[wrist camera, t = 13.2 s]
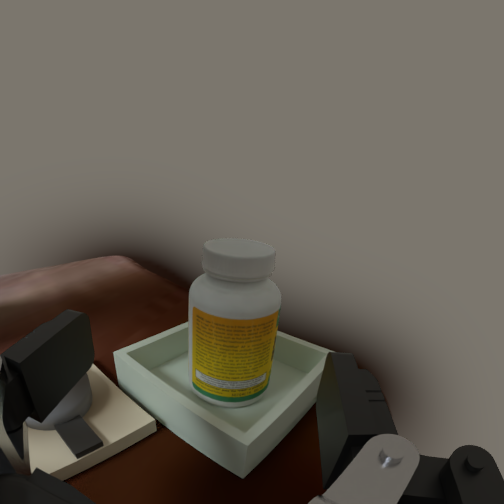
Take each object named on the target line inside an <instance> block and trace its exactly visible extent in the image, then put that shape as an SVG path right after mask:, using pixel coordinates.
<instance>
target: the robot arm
mask: <svg viewBox="0 0 504 504" xmlns="http://www.w3.org/2000/svg"><path fill="white" fill-rule="evenodd" d="M93 361H94V347H93V341H92V334H91V328H90V321H89V317H88V315H87V314H85V313H81V312H77V311H73V310H69V309H67V310H65V311H63V312H62V313H61V314H59V315H58V316H56V317H55V318H54V319H52V320H51V321H48V322H46V323H43V324H41V325H40V326H38V327H37V328H36V329H34V330H33V332H30V333H29V334H27V335H26V337H25V338H24V337H23V338H22V339H21V340H19V341H18V342H17V343H15V344H14V345H13V346H11V347H10V348H9V349H7V350H6V351H5V352H3V353H2V354H1V355H0V504H96V503H94V502H93V501H91V500H90V499H89V498H87V497H86V496H84V495H83V494H82V493H80V492H79V491H78V490H76V489H75V488H74V487H73V486H71V485H70V484H68V483H66V482H64V481H62V480H60V479H58V478H56V477H54V476H52V475H50V474H48V473H46V472H44V471H42V470H41V469H39V468H37V467H36V469H35V470H34V471H33V473H32V472H31V468H30V458H29V441H28V426H27V423H26V421H25V420H26V419H27V418H28V417H30V418H32V419H34V420H36V421H38V422H40V423H42V422H43V421H44V420H45V419H46V418H47V416H48V415H49V414H50V413H51V412H52V411H53V410H54V408H55V407H56V406H57V405H58V404H59V403H60V402H61V400H62V399H63V398H64V397H65V396H66V395H67V394H68V393H69V391H70V390H71V389H72V388H73V387H74V386H75V385H76V384H77V382H78V381H79V380H80V379H81V378H82V377H83V376H84V375H85V374H86V372H87V371H88V370H89V369H90V368H91V366H92V364H93ZM316 413H317V422H318V433H319V443H320V454H321V466H322V479H323V489H328V490H327V491H326V492H325V493H324V494H323V495H322V496H320V495H318V496H316V497H315V498H313V499H312V500H311V501H310V502H309V503H308V504H504V480H503V478H502V475H501V473H500V471H499V469H498V467H497V465H496V463H495V461H494V459H493V457H492V456H491V454H489V453H488V452H487V451H486V450H484V449H483V448H481V447H478V446H473V445H465V446H462V447H459V448H458V449H456V450H455V451H454V452H453V454H452V455H451V456H450V458H449V459H446V458H437V457H429V456H424V455H420V454H419V452H418V450H417V448H416V446H415V445H414V444H413V443H412V442H411V441H409V440H408V439H406V438H404V437H402V436H399V435H398V433H397V430H396V428H395V425H394V422H393V420H392V417H391V414H390V411H389V409H388V406H387V404H386V402H385V398H384V396H383V393H381V388H380V386H379V383H378V380H377V379H376V378H375V377H374V376H373V375H372V374H371V373H370V372H369V371H368V370H367V369H358V367H357V364H356V361H355V358H354V355H353V354H352V353H341V352H328V354H327V357H326V360H325V365H324V369H323V373H322V377H321V380H320V384H319V388H318V392H317V399H316Z"/></svg>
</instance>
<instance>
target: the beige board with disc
mask: <svg viewBox="0 0 504 504" xmlns="http://www.w3.org/2000/svg"><path fill="white" fill-rule="evenodd" d="M25 421H26V423H27V426H28V441H29V458H30V468H31V472H32V473H33V471H34V470H35V469H36V467H37V468H39V469H41V470H42V471H44V472H46V473H48V474H50V475H52V476H54V477H56V478H58V479H60V480H62V481H63V480H65V479H68V478H70V477H72V476H74V475H76V474H78V473H80V472H82V471H84V470H86V469H88V468H90V467H92V466H94V465H96V464H98V463H100V462H102V461H103V460H105V459H107V458H109V457H111V456H113V455H115V454H117V453H118V452H120V451H122V450H124V449H126V448H127V447H129V446H131V445H133V444H134V443H136V442H138V441H140V440H141V439H143V438H145V437H147V436H148V435H150V434H152V433H153V432H155V431H157V429H156V422H155V419H154V418H153V417H151V416H150V415H149V414H148V413H147V412H145V411H144V410H143V409H142V408H141V407H139V406H138V405H137V404H136V403H135V402H134V401H132V400H131V399H130V398H129V397H128V396H127V395H126V394H125V393H123V392H122V391H121V390H120V389H119V388H118V387H117V386H116V385H115V384H114V383H113V382H111V381H110V380H109V379H108V378H107V377H106V376H105V375H104V374H103V373H102V372H101V371H100V370H99V369H98V368H97V367H96V366H95V365H94V364H92V366H91V368H90V369H89V370H88V371H87V372H86V374H85V375H84V376H83V377H82V378H81V379H80V380H79V381H78V382H77V384H76V385H75V386H74V387H73V388H72V389H71V390H70V391H69V393H68V394H67V395H66V396H65V397H64V398H63V399H62V400H61V402H60V403H59V404H58V405H57V406H56V407H55V408H54V410H53V411H52V412H51V413H50V414H49V415H48V416H47V418H46V419H45V420H44V421H43V422H42V423H40V422H38V421H36V420H34V419H32V418H30V417H28V418H27V419H26V420H25Z"/></svg>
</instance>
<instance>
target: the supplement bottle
mask: <svg viewBox="0 0 504 504" xmlns="http://www.w3.org/2000/svg"><path fill="white" fill-rule="evenodd" d="M275 255H276V251H275V248H274V247H272V246H271V245H269V244H266V243H263V242H259V241H255V240H248V239H237V238H222V239H214V240H210V241H207V242H205V244H204V245H203V255H202V266H203V270H204V272H205V273H204V274H202V275H201V276H199V277H198V278H196V279H195V280H194V282H193V284H192V285H191V287H190V290H189V313H188V377H189V383H190V386H191V388H192V390H193V391H194V393H195V394H196V395H197V396H198V397H200V398H201V399H203V400H205V401H207V402H209V403H211V404H213V405H216V406H220V407H225V408H238V407H243V406H247V405H250V404H252V403H255V402H256V401H258V400H259V399H261V398H262V397H263V395H264V394H265V393H266V391H267V389H268V386H269V381H270V375H271V368H272V362H273V355H274V350H275V342H276V335H277V329H278V321H279V316H280V308H281V293H280V290H279V288H278V287H277V285H276V284H275V283H274V282H273V281H272V280H270V279H269V277H270V276H271V274H272V272H273V271H274V268H275V267H274V266H275Z"/></svg>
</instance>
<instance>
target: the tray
mask: <svg viewBox="0 0 504 504" xmlns="http://www.w3.org/2000/svg"><path fill="white" fill-rule="evenodd" d="M328 352H334V351H331V350H328V349H325V348H323V347H320V346H317V345H314V344H312V343H309V342H306V341H304V340H301V339H298V338H296V337H293V336H290V335H287V334H285V333H282V332H280V331H277V335H276V342H275V350H274V355H273V362H272V368H271V375H270V381H269V386H268V389H267V391H266V393H265V394H264V395H263V397H262V398H261V399H259V400H258V401H256V402H255V403H252V404H250V405H247V406H243V407H238V408H225V407H220V406H216V405H213V404H211V403H209V402H207V401H205V400H203V399H201V398H200V397H198V396H197V395H196V394H195V393H194V391H193V390H192V388H191V386H190V383H189V377H188V322H186V323H184V324H181V325H179V326H177V327H174V328H172V329H169V330H167V331H165V332H162V333H160V334H157V335H155V336H152V337H150V338H147V339H145V340H143V341H140V342H138V343H135V344H133V345H130V346H128V347H125V348H123V349H120V350H118V351H115V352H113V353H114V360H115V366H116V372H117V378H118V384H119V388H120V389H122V390H123V391H124V392H125V393H126V394H127V395H128V396H129V397H131V398H132V399H133V400H134V401H135V402H136V403H137V404H139V405H140V406H141V407H142V408H143V409H145V410H146V411H147V412H148V413H149V414H151V415H152V416H153V417H154V418H156V419H157V420H158V421H159V422H161V423H162V424H163V425H164V426H166V427H167V428H168V429H170V430H171V431H172V432H174V433H175V434H176V435H178V436H179V437H180V438H182V439H183V440H184V441H186V442H187V443H189V444H190V445H191V446H193V447H194V448H196V449H197V450H198V451H200V452H201V453H203V454H204V455H206V456H207V457H209V458H210V459H212V460H213V461H215V462H216V463H218V464H219V465H221V466H223V467H224V468H226V469H227V470H229V471H231V472H232V473H234V474H236V475H237V476H239V477H241V478H242V479H243V478H244V477H245V476H246V475H248V474H249V473H250V472H251V471H252V470H253V469H254V468H255V467H256V466H257V465H258V464H259V463H260V462H261V461H262V460H263V459H264V458H265V457H266V456H267V455H268V454H269V453H270V452H271V451H272V450H273V449H274V448H275V447H276V446H277V445H278V444H279V442H280V441H281V440H282V439H283V438H284V437H285V436H286V435H287V434H288V433H289V432H290V431H291V430H292V428H293V427H294V426H295V425H296V424H297V423H298V422H299V421H300V420H301V418H302V417H303V416H304V415H305V414H306V413H307V412H308V410H309V409H310V408H311V407H312V406H313V405H314V403H315V402H316V399H317V392H318V388H319V384H320V380H321V377H322V373H323V369H324V365H325V360H326V357H327V354H328Z"/></svg>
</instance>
